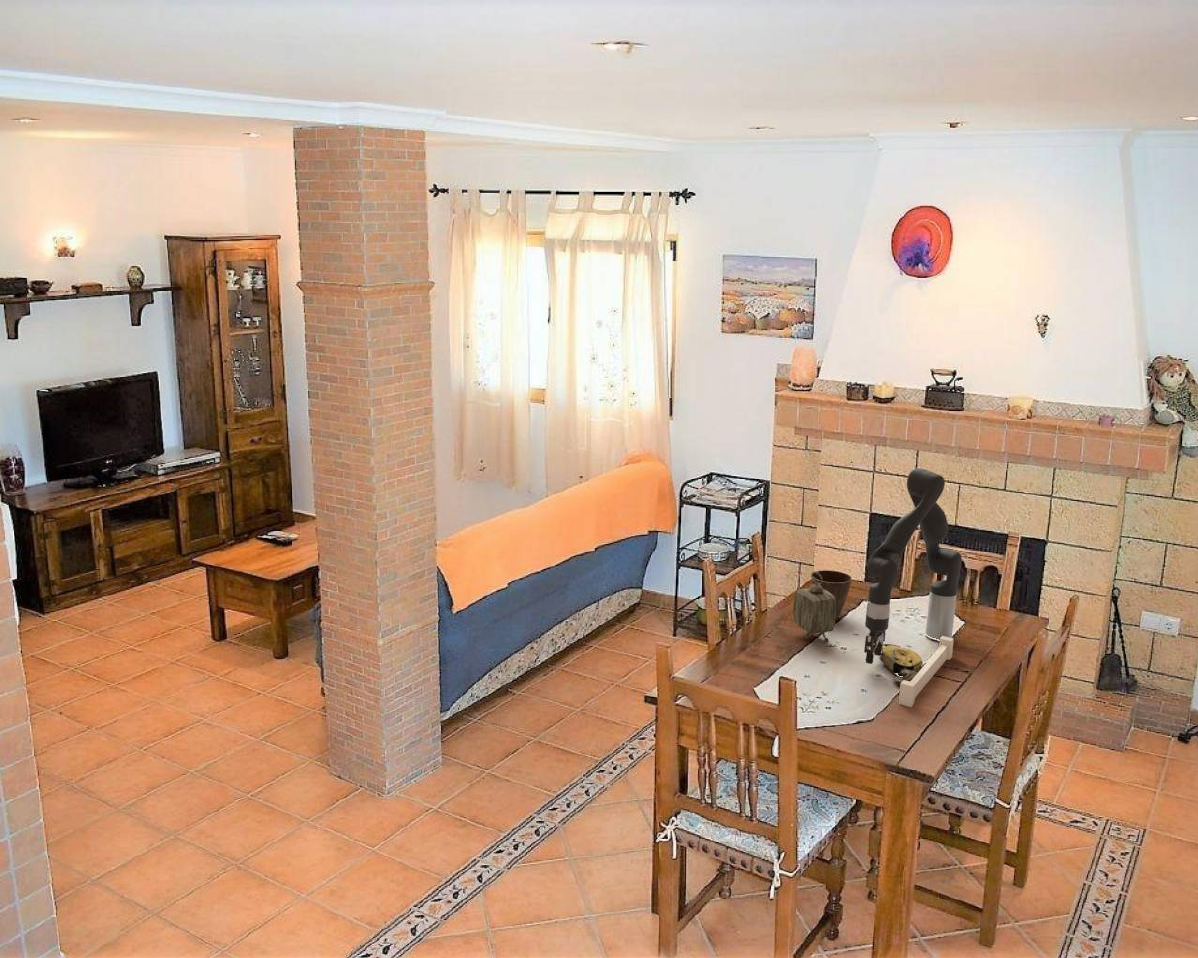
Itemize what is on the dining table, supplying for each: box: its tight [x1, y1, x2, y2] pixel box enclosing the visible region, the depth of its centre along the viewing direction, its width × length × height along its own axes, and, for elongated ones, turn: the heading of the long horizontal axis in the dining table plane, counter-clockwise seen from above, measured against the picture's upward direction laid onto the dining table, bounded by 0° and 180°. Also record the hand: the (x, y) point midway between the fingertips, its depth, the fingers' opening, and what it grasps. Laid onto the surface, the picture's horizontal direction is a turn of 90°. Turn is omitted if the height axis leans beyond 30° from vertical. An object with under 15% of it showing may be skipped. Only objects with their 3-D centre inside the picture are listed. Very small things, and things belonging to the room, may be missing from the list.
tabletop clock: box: [792, 570, 836, 643], centre depth 392 cm, size 14×9×25 cm, turn 22°
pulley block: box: [879, 643, 923, 686], centre depth 368 cm, size 14×6×30 cm
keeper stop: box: [898, 636, 955, 708], centre depth 362 cm, size 48×4×7 cm, turn 148°
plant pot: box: [811, 570, 852, 620], centre depth 416 cm, size 15×15×16 cm
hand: (873, 659), depth 371 cm, fingers open, 8 cm apart
